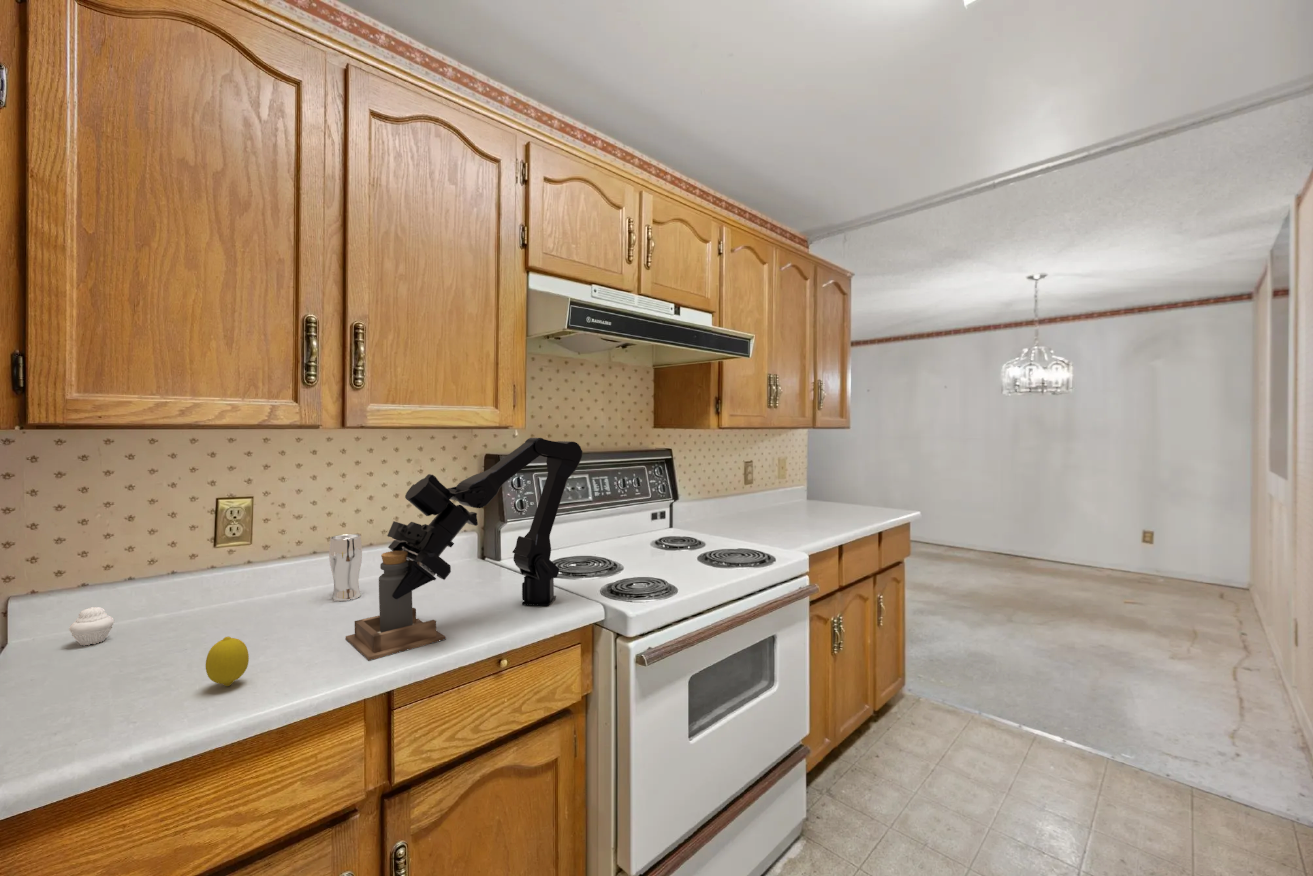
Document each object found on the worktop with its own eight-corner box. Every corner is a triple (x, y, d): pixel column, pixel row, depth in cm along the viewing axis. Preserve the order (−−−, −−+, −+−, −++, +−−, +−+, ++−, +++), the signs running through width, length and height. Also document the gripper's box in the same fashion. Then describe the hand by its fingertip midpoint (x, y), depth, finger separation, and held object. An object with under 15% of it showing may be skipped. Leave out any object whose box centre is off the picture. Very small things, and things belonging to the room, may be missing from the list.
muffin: (87, 638, 111) (86, 603, 110) (122, 635, 112) (122, 601, 112) (60, 650, 105) (59, 613, 104) (98, 647, 106) (97, 611, 106)
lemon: (221, 678, 92) (220, 631, 92) (257, 677, 93) (255, 630, 93) (197, 695, 87) (195, 644, 87) (234, 693, 87) (233, 643, 87)
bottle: (409, 632, 107) (407, 555, 107) (376, 636, 106) (374, 557, 105) (415, 622, 113) (413, 548, 112) (384, 625, 111) (382, 550, 111)
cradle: (417, 621, 119) (417, 604, 119) (445, 639, 109) (445, 621, 109) (345, 639, 109) (345, 621, 109) (368, 660, 99) (368, 640, 99)
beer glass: (368, 596, 137) (367, 535, 137) (339, 603, 131) (338, 540, 131) (353, 591, 141) (351, 532, 140) (324, 599, 135) (323, 537, 134)
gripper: (397, 501, 118) (341, 562, 111) (433, 510, 105) (371, 581, 97) (435, 532, 124) (384, 592, 116) (473, 545, 110) (418, 614, 103)
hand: (388, 594), depth 108 cm, fingers closed on bottle, 5 cm apart
